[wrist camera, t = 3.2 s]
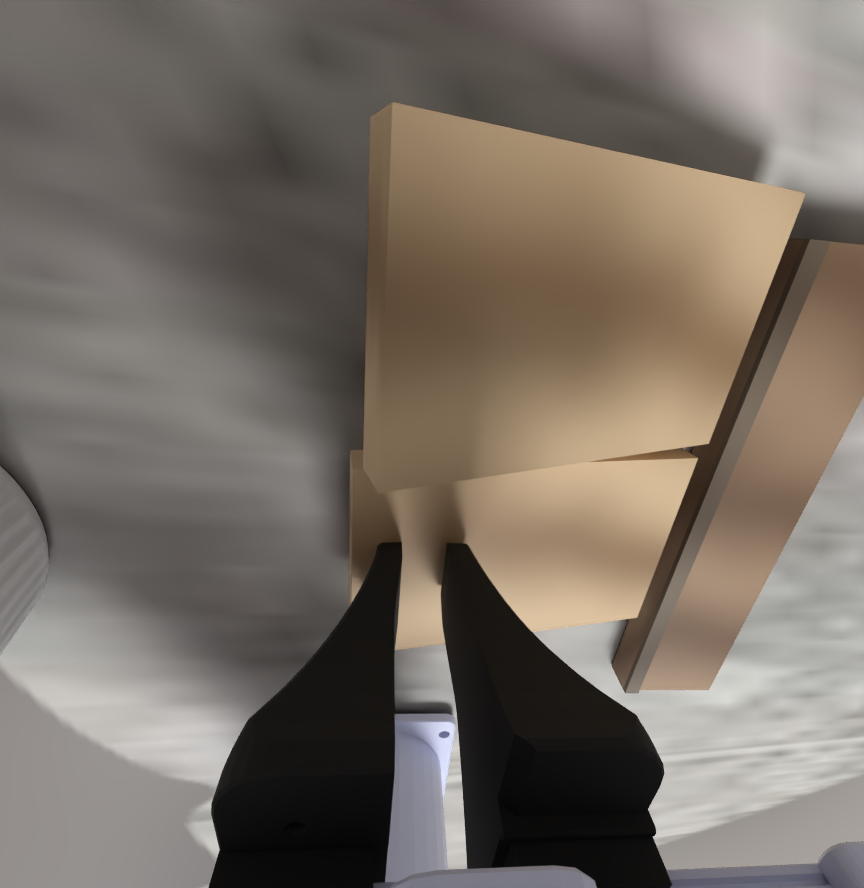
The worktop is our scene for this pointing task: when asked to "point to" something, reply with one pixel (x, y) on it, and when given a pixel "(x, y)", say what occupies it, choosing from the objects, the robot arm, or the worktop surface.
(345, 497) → the worktop surface
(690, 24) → the worktop surface
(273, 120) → the worktop surface
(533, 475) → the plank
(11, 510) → the ramekin
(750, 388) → the floor panel
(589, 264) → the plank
